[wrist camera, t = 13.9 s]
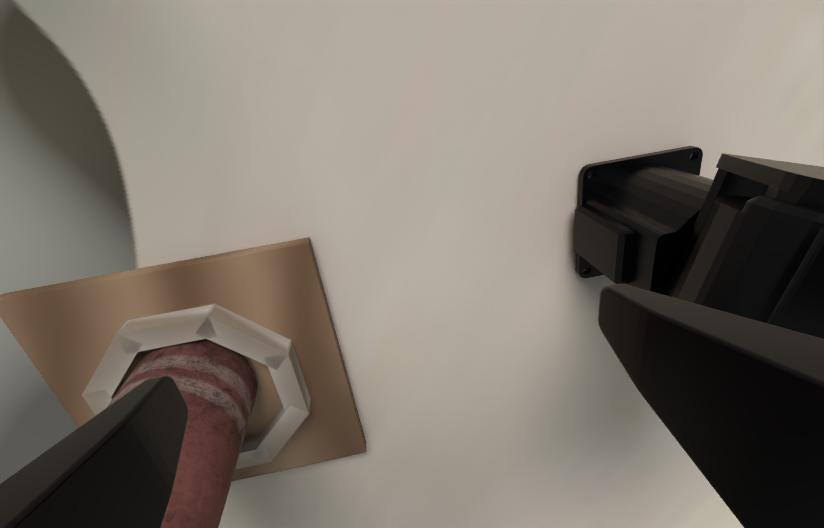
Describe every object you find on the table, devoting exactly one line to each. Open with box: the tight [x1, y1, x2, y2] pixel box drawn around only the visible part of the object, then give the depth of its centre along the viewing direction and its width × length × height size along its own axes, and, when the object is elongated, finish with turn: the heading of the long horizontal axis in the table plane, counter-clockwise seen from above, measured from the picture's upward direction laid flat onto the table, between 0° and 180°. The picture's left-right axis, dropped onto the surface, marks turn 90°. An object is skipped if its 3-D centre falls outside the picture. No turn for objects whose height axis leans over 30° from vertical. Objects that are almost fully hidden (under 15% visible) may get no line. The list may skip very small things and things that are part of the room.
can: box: [106, 339, 257, 528], centre depth 16 cm, size 6×6×14 cm
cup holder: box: [0, 238, 366, 481], centre depth 23 cm, size 15×15×2 cm
